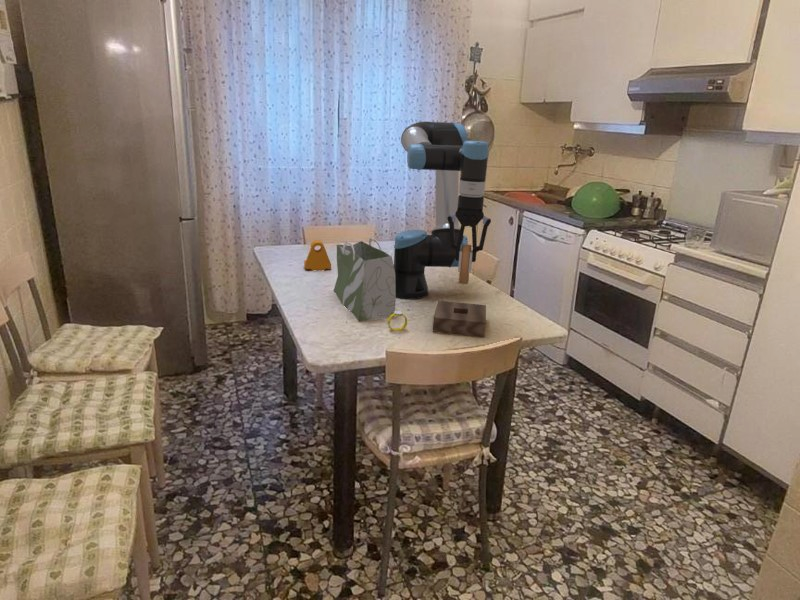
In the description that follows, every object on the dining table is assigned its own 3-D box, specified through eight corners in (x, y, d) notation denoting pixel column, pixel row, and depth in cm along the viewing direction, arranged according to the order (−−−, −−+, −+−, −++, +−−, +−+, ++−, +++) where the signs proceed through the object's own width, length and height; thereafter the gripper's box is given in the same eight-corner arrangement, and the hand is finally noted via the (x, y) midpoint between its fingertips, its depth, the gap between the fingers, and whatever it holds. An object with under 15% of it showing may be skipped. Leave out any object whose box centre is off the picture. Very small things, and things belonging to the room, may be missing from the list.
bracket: (329, 265, 229) (329, 238, 225) (331, 270, 222) (331, 242, 219) (304, 266, 227) (303, 238, 223) (305, 271, 220) (304, 242, 216)
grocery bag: (329, 291, 197) (330, 230, 189) (365, 288, 202) (366, 228, 194) (356, 322, 169) (358, 252, 161) (396, 317, 174) (400, 249, 167)
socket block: (432, 332, 164) (433, 317, 162) (437, 314, 179) (438, 300, 177) (484, 337, 162) (485, 322, 160) (484, 319, 177) (486, 305, 175)
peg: (458, 283, 164) (461, 246, 160) (459, 280, 167) (462, 243, 163) (468, 284, 164) (471, 246, 160) (468, 281, 167) (471, 244, 163)
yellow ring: (404, 328, 167) (406, 310, 165) (406, 332, 164) (409, 314, 162) (386, 328, 165) (388, 310, 163) (388, 331, 162) (390, 313, 160)
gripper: (444, 195, 154) (438, 272, 162) (498, 198, 152) (489, 276, 160) (446, 191, 161) (440, 265, 169) (497, 195, 159) (489, 270, 167)
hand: (464, 271), depth 164 cm, fingers closed on peg, 2 cm apart
